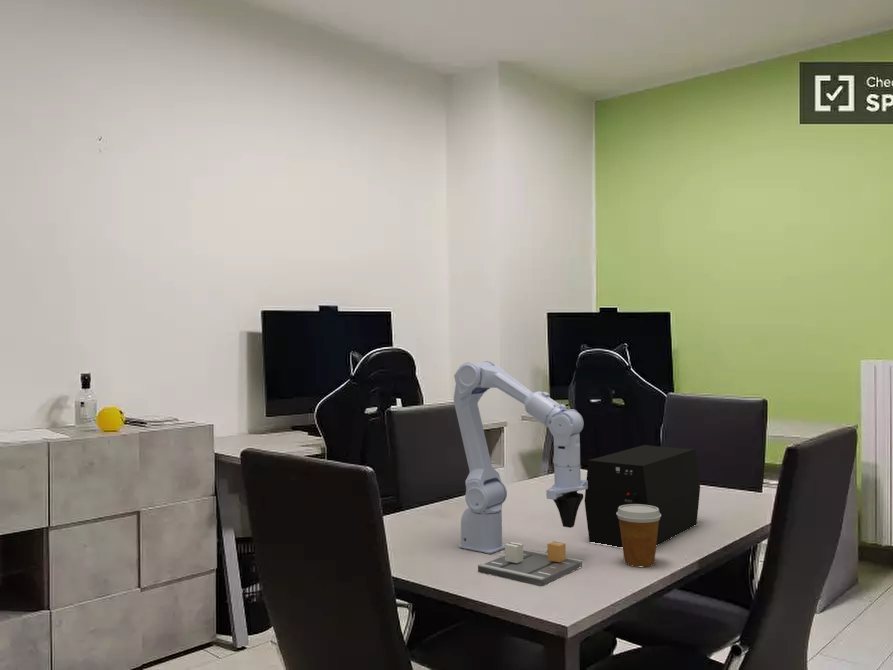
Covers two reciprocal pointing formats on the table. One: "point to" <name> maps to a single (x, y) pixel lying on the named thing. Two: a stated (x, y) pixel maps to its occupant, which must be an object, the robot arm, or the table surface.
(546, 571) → the fader board
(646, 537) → the disposable coffee cup
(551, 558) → the block
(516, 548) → the fader
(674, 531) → the uninterruptible power supply
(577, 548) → the table surface
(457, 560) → the table surface
